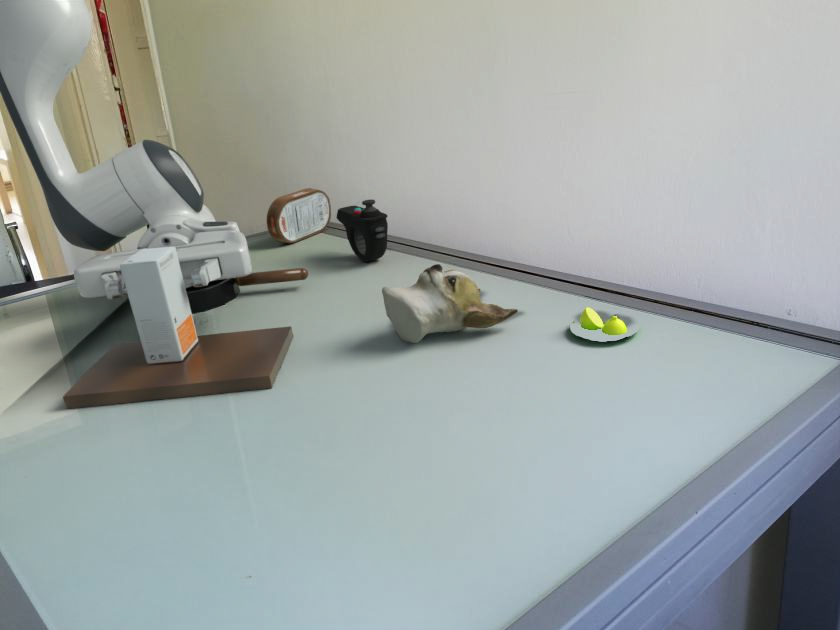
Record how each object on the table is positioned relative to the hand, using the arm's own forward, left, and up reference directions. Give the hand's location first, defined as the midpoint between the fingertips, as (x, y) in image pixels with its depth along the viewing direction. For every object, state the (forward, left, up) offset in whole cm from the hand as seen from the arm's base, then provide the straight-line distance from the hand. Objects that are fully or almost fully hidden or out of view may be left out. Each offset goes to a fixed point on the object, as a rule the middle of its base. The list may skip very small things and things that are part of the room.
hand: (156, 286), depth 82 cm
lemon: (+50, -4, -10) cm, 51 cm away
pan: (+1, +23, -10) cm, 25 cm away
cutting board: (+2, -3, -10) cm, 10 cm away
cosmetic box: (0, -1, -8) cm, 8 cm away
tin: (+7, +53, -10) cm, 55 cm away
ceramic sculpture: (+32, +1, -10) cm, 34 cm away
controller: (+20, +35, -10) cm, 42 cm away
